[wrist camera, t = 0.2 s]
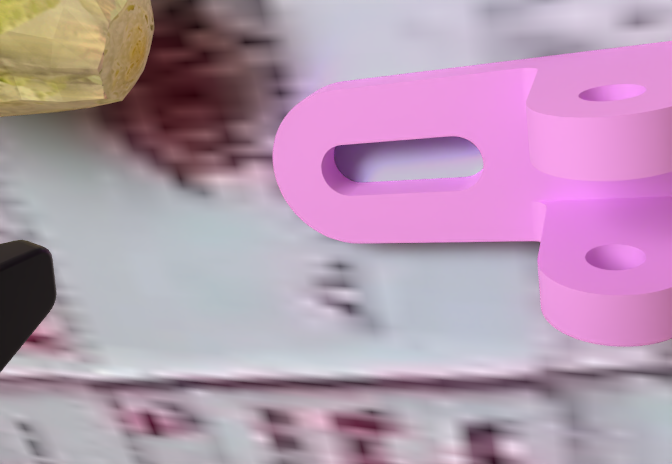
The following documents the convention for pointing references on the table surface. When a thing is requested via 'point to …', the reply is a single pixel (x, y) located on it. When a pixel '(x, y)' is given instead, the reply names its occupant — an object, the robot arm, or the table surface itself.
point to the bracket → (515, 175)
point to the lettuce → (71, 53)
